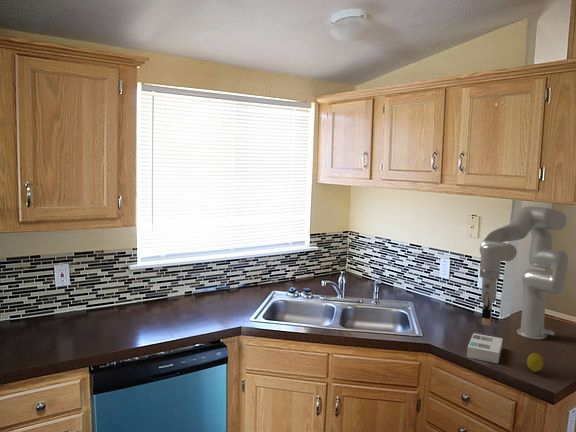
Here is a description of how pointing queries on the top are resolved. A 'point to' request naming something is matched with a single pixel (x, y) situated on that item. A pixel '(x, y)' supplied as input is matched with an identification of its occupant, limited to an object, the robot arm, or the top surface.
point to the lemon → (535, 362)
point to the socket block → (484, 348)
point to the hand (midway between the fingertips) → (486, 316)
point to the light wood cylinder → (486, 320)
